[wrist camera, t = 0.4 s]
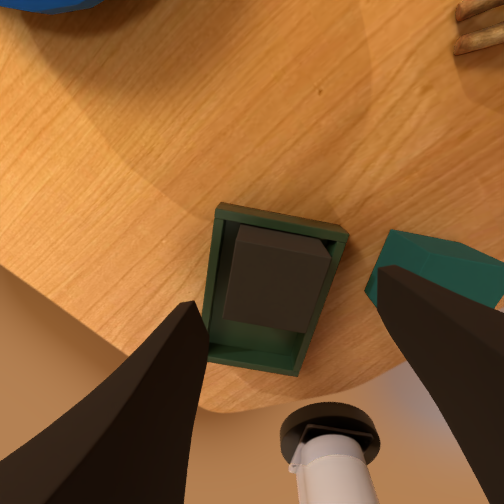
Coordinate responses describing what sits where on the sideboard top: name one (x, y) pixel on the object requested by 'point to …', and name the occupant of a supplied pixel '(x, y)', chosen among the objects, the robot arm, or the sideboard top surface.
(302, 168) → the sideboard top surface
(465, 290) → the teal green block
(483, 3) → the figurine
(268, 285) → the dark brown block
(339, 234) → the frame
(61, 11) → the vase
